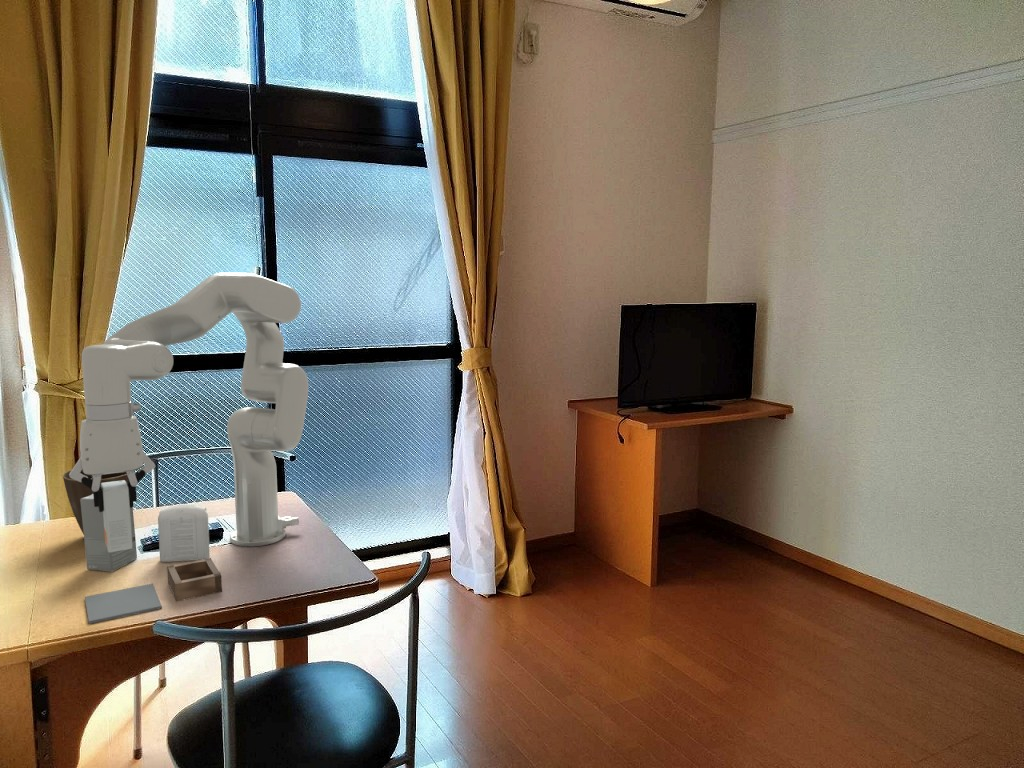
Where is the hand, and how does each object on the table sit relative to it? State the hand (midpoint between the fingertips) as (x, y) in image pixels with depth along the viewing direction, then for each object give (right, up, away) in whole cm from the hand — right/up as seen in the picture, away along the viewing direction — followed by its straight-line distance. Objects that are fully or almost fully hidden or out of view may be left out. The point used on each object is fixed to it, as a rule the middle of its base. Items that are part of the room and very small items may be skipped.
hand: (115, 506), depth 139 cm
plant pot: (-23, -14, +39) cm, 47 cm away
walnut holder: (+10, -18, +11) cm, 23 cm away
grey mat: (0, -19, +3) cm, 19 cm away
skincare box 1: (0, -8, +1) cm, 8 cm away
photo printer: (+2, -16, +25) cm, 30 cm away
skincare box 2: (-13, -16, +22) cm, 30 cm away
